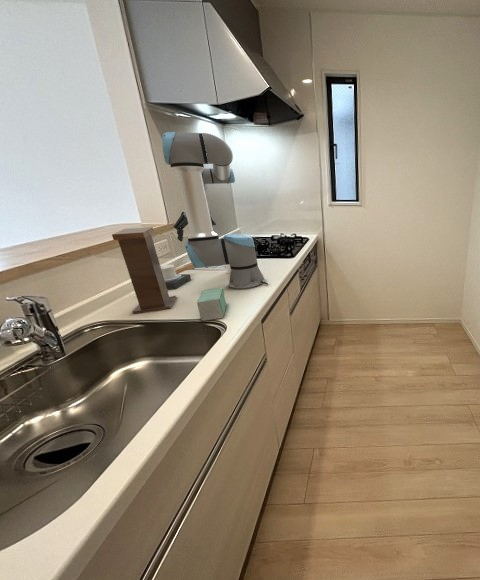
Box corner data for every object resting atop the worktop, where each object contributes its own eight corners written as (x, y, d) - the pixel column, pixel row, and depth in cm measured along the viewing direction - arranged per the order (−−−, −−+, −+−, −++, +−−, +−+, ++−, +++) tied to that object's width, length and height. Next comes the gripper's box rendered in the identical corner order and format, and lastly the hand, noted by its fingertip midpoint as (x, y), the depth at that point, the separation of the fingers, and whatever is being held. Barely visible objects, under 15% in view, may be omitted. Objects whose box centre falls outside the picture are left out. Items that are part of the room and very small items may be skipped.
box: (226, 304, 125) (222, 286, 122) (224, 317, 113) (219, 299, 111) (206, 307, 123) (201, 289, 120) (201, 321, 111) (196, 302, 108)
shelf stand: (143, 302, 128) (119, 229, 117) (176, 297, 132) (157, 226, 121) (133, 314, 117) (106, 234, 107) (170, 308, 122) (147, 232, 111)
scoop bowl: (168, 279, 143) (165, 269, 141) (155, 278, 144) (152, 268, 142) (200, 266, 162) (198, 257, 161) (188, 265, 163) (186, 256, 162)
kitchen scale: (191, 279, 154) (189, 272, 153) (175, 289, 142) (173, 281, 141) (164, 280, 154) (162, 273, 152) (146, 289, 142) (143, 282, 140)
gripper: (224, 205, 169) (222, 239, 161) (177, 211, 168) (173, 245, 160) (217, 196, 162) (215, 231, 154) (168, 202, 161) (163, 237, 153)
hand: (193, 238), depth 157 cm, fingers open, 13 cm apart
